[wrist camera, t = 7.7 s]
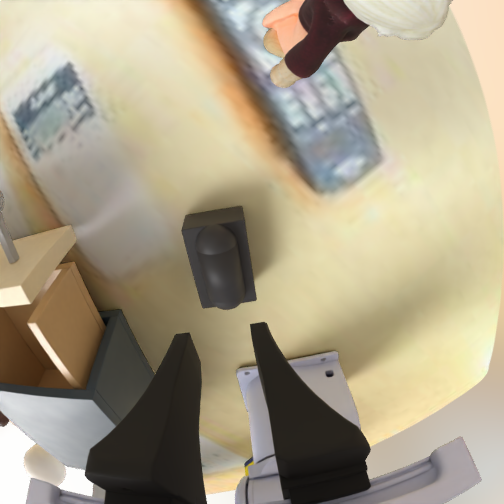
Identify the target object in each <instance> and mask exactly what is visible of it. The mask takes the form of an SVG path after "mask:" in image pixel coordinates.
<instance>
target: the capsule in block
mask: <svg viewBox="0 0 504 504" xmlns="http://www.w3.org/2000/svg"><path fill="white" fill-rule="evenodd" d="M182 234H183V238H184V242H185V246H186V250H187V254H188V258H189V261H190V265H191V269H192V272H193V276H194V280H195V283H196V287H197V290H198V294H199V297H200V301H201V304H202V308H211V307H218V308H220V309H224V310H229V309H233V308H235V307H237V306H238V305H239V304H240V303H244V302H251V301H256V300H257V298H256V292H255V285H254V279H253V272H252V265H251V259H250V252H249V245H248V239H247V232H246V225H245V219H244V214H243V208H242V206H238V207H232V208H225V209H219V210H213V211H207V212H201V213H195V214H190V215H185V219H184V223H183V227H182Z"/></svg>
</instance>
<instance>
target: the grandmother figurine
mask: <svg viewBox="0 0 504 504" xmlns="http://www.w3.org/2000/svg"><path fill="white" fill-rule="evenodd" d="M452 1H453V0H290V1H289V2H286V3H284V4H282V5H280V6H279V7H277V8H275V9H274V10H272V11H271V12H270V13H268V14H267V15H266V16H265V17H264V19H263V22H262V24H263V26H264V27H267V28H270V29H269V30H268V31H267V33H266V34H265V36H264V46H265V48H266V49H267V50H268V52H270V53H272V54H274V55H276V56H279V57H281V58H283V59H282V60H281V61H280V64H277V65H275V66H274V67H273V68H272V70H271V73H270V77H271V80H272V82H273V83H274V84H275V85H276V86H278V87H282V88H287V87H290V86H291V85H293V84H294V83H295V82H296V81H298V80H300V79H302V78H307V77H310V76H311V75H312V74H314V73H315V72H316V71H317V70H318V69H319V67H320V65H321V64H322V62H323V61H324V59H325V58H326V57H327V55H328V54H329V53H330V52H331V51H332V49H333V48H334V47H335V46H336V45H337V44H338V43H339V42H343V41H352V40H355V39H356V38H357V37H358V35H359V34H360V33H361V32H362V31H363V30H365V29H366V28H367V27H368V26H372V27H374V28H375V29H376V30H377V32H378V33H379V34H378V36H397V37H399V38H401V39H404V40H422V39H425V38H427V37H429V36H430V35H431V34H432V33H433V31H434V30H436V29H438V28H440V27H441V26H442V24H443V23H444V21H445V19H446V17H447V13H448V9H449V5H450V4H451V2H452Z"/></svg>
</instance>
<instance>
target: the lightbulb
mask: <svg viewBox="0 0 504 504" xmlns="http://www.w3.org/2000/svg"><path fill="white" fill-rule="evenodd" d="M24 466H25V469H26V471H27V473H28V475H29V476H30V477H31V478H36V479H39V480H42V481H45V482H48V483H51V484H53V485H55V486H58V485H60V484H61V483H62V482H63V480H64V478H65V475H66V469H65V465H64V464H63V463H61V462H60V461H59V460H57V459H56V458H55V457H53V456H52V455H51V454H49V453H48V452H47V451H45V450H44V449H43V448H42V447H40V446H39V445H38V444H37V443H36V444H35V445H34V446H33V447H32V448H30V449H29V450H28V451H27V452H26V454H25V457H24Z"/></svg>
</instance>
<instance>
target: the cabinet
mask: <svg viewBox="0 0 504 504" xmlns="http://www.w3.org/2000/svg"><path fill="white" fill-rule="evenodd" d="M98 313H99V315H100V317H101V318H102V320H103V322H104V324H105V326H106V329H105V332H104V335H103V338H102V341H101V343H100V346H99V349H98V352H97V355H96V358H95V361H94V364H93V367H92V370H91V373H90V377H89V380H88V383H87V386H86V390H83V389H61V388H46V387H35V386H25V385H16V384H8V383H0V411H1V412H2V413H3V414H4V415H5V416H6V417H7V418H8V419H9V420H10V421H11V422H13V423H14V424H15V425H16V426H17V427H18V428H19V429H20V430H21V431H23V432H24V433H25V434H26V435H27V436H28V437H30V438H31V439H32V440H33V441H34V442H35V443H37V444H38V445H39V446H40V447H42V448H43V449H44V450H45V451H47V452H48V453H49V454H51V455H52V456H53V457H55V458H56V459H57V460H59V461H60V462H61V463H63V464H64V465H66V466H67V467H72V468H78V469H83V470H86V464H87V459H88V454H89V451H90V448H92V447H93V446H94V445H96V444H97V443H98V442H99V441H101V440H102V439H103V438H104V437H106V436H107V435H108V434H109V433H110V432H111V431H112V430H113V429H114V428H115V427H116V426H117V425H118V424H119V423H120V422H121V421H122V420H123V419H124V418H125V416H126V415H127V414H128V413H129V412H130V411H131V409H132V408H133V407H134V406H135V404H136V403H137V402H138V400H139V399H140V398H141V396H142V395H143V393H144V392H145V390H146V389H147V387H148V386H149V384H150V382H151V381H152V379H153V377H154V376H155V374H154V373H153V371H152V369H151V367H150V366H149V364H148V362H147V360H146V358H145V356H144V355H143V353H142V351H141V349H140V347H139V345H138V343H137V341H136V339H135V337H134V335H133V333H132V331H131V329H130V327H129V325H128V323H127V321H126V319H125V317H124V315H123V313H122V311H121V310H111V311H102V312H98Z"/></svg>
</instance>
